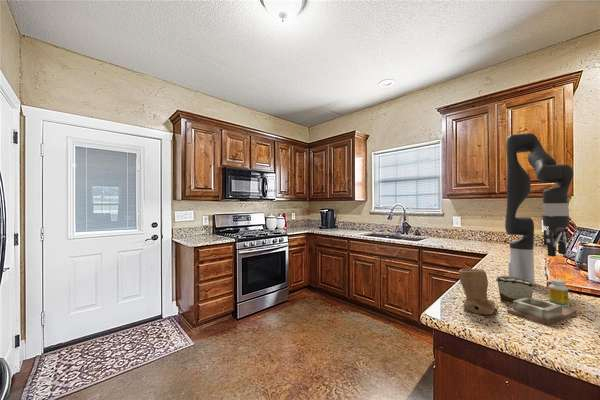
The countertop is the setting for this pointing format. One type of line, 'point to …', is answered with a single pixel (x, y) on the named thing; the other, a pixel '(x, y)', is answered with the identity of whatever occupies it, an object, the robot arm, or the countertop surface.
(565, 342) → the countertop surface
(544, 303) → the bottle holder
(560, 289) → the supplement bottle
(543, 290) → the countertop surface
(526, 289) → the food container
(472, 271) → the tan boot
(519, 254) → the robot arm
